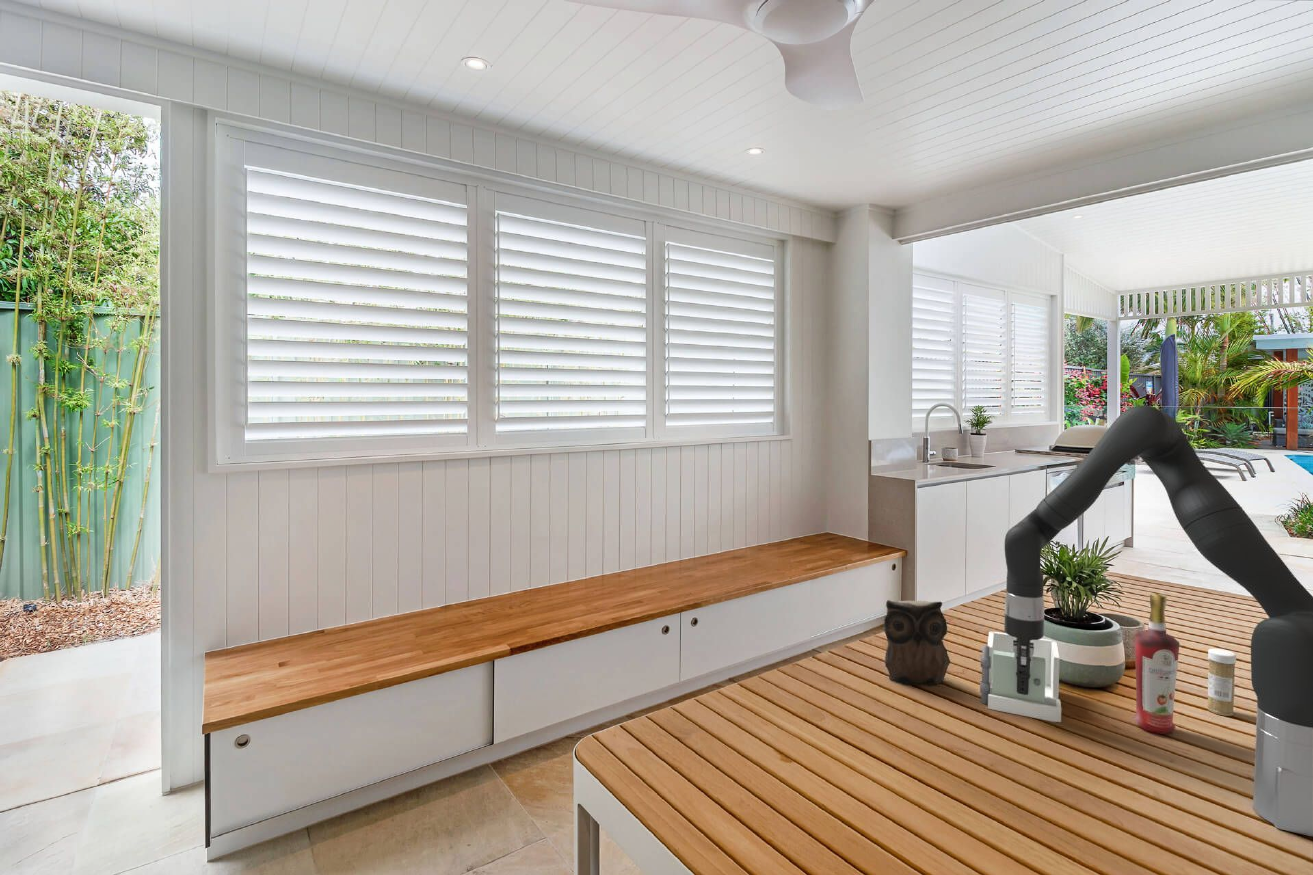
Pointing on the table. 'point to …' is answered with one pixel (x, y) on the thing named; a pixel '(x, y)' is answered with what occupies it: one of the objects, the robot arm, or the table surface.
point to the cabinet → (1014, 706)
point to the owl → (915, 642)
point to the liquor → (1156, 671)
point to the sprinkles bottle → (1221, 682)
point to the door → (1008, 679)
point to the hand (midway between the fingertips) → (1022, 690)
